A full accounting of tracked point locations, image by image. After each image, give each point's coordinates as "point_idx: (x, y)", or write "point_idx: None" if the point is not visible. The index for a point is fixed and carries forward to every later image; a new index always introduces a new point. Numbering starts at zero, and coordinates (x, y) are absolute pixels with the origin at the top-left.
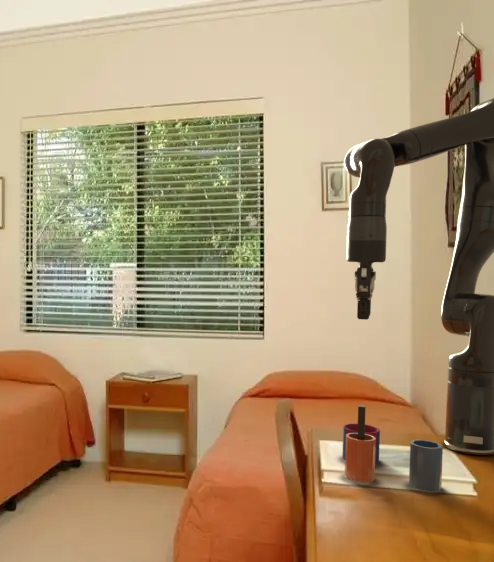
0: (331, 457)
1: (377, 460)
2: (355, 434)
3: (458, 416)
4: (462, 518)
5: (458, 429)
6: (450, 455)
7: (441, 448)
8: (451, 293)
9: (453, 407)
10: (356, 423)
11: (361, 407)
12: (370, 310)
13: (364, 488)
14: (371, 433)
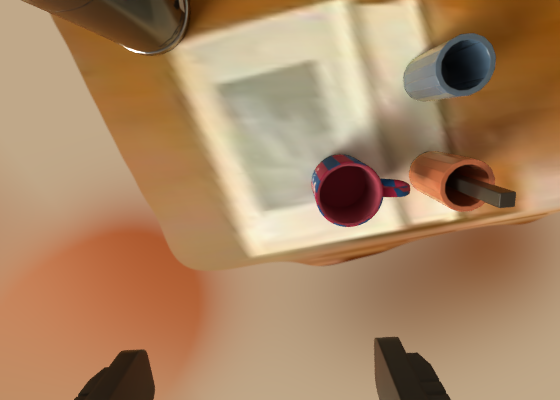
0: None
1: (350, 156)
2: (445, 196)
3: (156, 7)
4: (531, 19)
5: (169, 16)
6: (212, 43)
7: (479, 35)
8: None
9: (140, 13)
10: (319, 207)
11: (514, 199)
12: (125, 371)
13: None
14: (376, 173)
